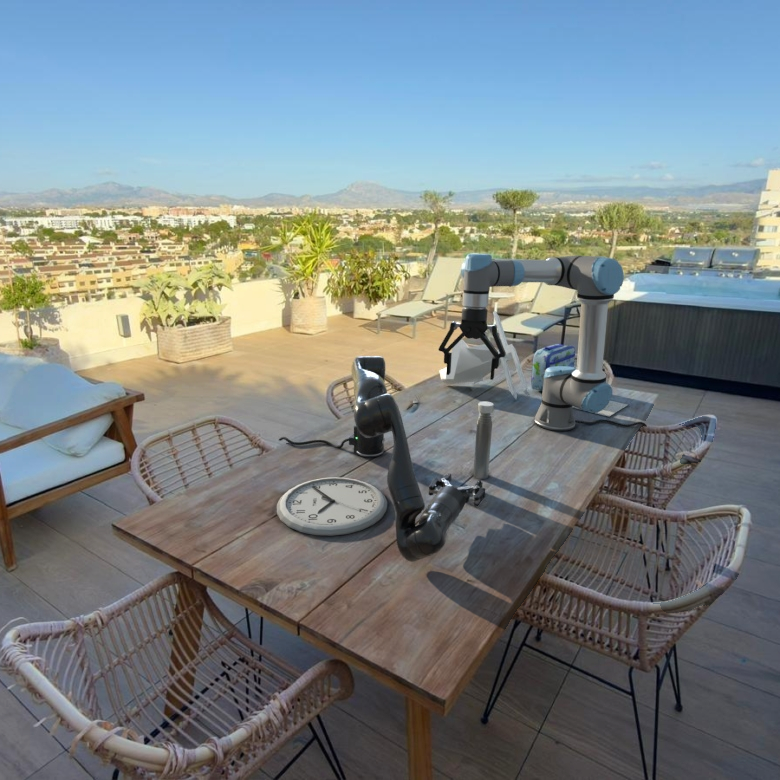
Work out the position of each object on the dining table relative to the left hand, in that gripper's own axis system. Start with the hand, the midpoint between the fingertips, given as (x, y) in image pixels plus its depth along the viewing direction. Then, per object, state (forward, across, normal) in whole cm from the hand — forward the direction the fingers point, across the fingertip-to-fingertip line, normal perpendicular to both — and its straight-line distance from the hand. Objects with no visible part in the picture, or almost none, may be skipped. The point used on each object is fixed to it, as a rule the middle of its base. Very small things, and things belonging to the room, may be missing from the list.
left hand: (464, 479), depth 145 cm
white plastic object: (+101, +24, +8) cm, 104 cm away
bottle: (+17, 0, +7) cm, 19 cm away
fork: (+69, +44, +7) cm, 82 cm away
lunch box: (+123, -6, +8) cm, 123 cm away
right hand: (+24, +7, -22) cm, 34 cm away
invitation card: (+105, -29, +7) cm, 110 cm away
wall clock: (-19, +31, +6) cm, 37 cm away
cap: (+18, 0, -16) cm, 24 cm away
